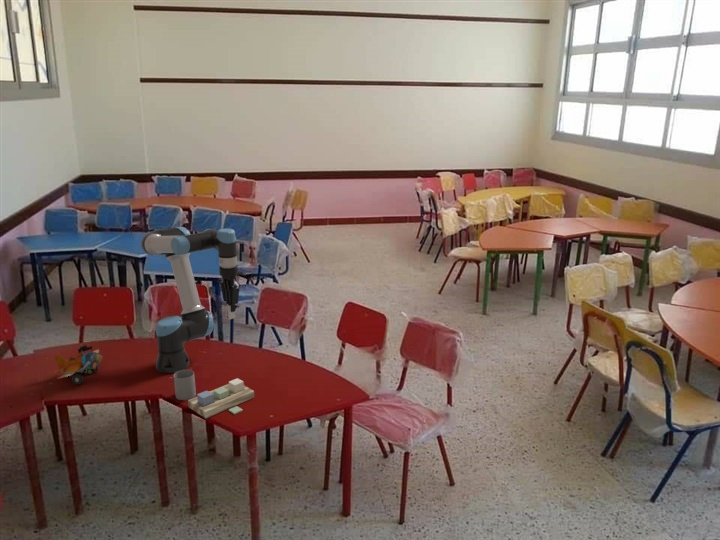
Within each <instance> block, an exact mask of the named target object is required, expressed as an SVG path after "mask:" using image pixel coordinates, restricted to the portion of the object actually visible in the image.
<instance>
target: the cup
mask: <svg viewBox="0 0 720 540" xmlns="http://www.w3.org/2000/svg"><path fill="white" fill-rule="evenodd" d="M173 384H174V392H175V399H177V400H178V401H188V400H190V399H193V398H195V397H196V396H197V392H196V391H197V390H196V388H197V387H196V381H195V372H194V371H193V370H191V369H184V370H180V371H177V372H175V373H174V374H173Z"/></svg>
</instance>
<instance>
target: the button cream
mask: <svg viewBox="0 0 720 540" xmlns="http://www.w3.org/2000/svg"><path fill="white" fill-rule="evenodd" d="M228 384H229V391H231V392H233V393H234V394H236V393H238V392H241V391H243V390H244V386H245V383H244V380H241V379H240V378H238V377H237V378H235V379H232V380H229V381H228Z"/></svg>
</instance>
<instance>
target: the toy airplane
mask: <svg viewBox="0 0 720 540" xmlns="http://www.w3.org/2000/svg"><path fill="white" fill-rule="evenodd" d="M101 352H102V348H97V349H95V350H93V345H92V346H87V344H86V345H82V346H80V347H79V348H78V349H77V353H76V354H75V357H73V356H70V357H68V360H67V359H65V358H64V357H63V356H62V355H60V354H59V353H57V354H53V358H54V360H55V362H56V364H57V366H58V369H57V370H55V371H54V374H56V373H59V372H61V373H62V374H63V375H62V376H59V377H57V380H59V379H63V378H69V377H71V382H72V383H73V384H74V385H76V384H80V385H82V384H83V382H84V377H85V375H91V374H92V373H97V372H98V371H99V369H100V368H99V366H100V364H101V362H102V361H103V359H104V358H103V355H101ZM68 376H69V377H68ZM81 383H82V384H81Z"/></svg>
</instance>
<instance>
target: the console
mask: <svg viewBox="0 0 720 540" xmlns="http://www.w3.org/2000/svg"><path fill="white" fill-rule="evenodd" d="M221 387H224V388H226V389H227V390H229V383H228V384H224V385H222V386H220V387H217V388H215V389H213V390H216V389H218V388H221ZM213 390H210V391H209V392H210V393H212V394H213V402H214V403H212V404H210V405H207V406H205V407H202V406H201V405H199V404H198V399H197V396H195V397H193V398H191V399H188V400H187V406H188V408H189V409H191V410H192V411H193V412H195V413H196V414H198V415H200V416H201V417H203V418H204V419H205V420H206V419H208V418H209V419H210V418H211V417H213V416H216V415H217V414H220V413H222V412H224V411H227V410H229V409H231V408H233V407H236V406H238V405H240V404H243V403H245V402H247V401H249V400H251V399H254V398H255V390H253V389H251V388H250V387H248V386H246V385H244V390H243V391H241V392H238V393H236V394H234V393H233V392H231V391H229V397H226V398H224V399H222V400H218V399H216V398H215V397H214V392H213Z"/></svg>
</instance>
